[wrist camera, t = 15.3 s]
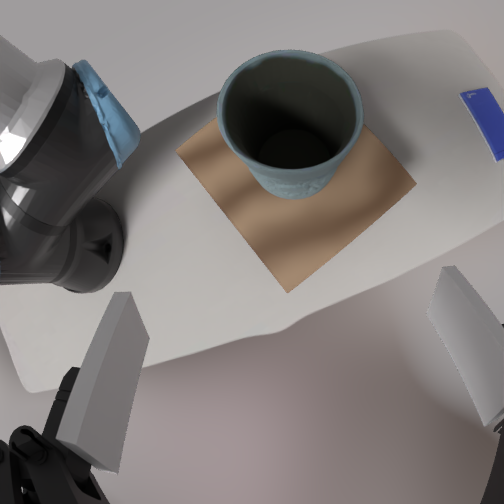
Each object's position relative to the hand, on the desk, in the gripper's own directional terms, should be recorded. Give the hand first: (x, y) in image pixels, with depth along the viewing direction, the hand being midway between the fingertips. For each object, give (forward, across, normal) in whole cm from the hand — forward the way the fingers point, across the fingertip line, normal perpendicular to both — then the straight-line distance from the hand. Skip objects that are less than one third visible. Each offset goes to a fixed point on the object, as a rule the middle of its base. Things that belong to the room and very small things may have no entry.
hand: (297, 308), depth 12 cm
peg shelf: (+28, +4, -4) cm, 28 cm away
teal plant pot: (+21, +3, 0) cm, 22 cm away
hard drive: (+30, +39, +6) cm, 50 cm away
